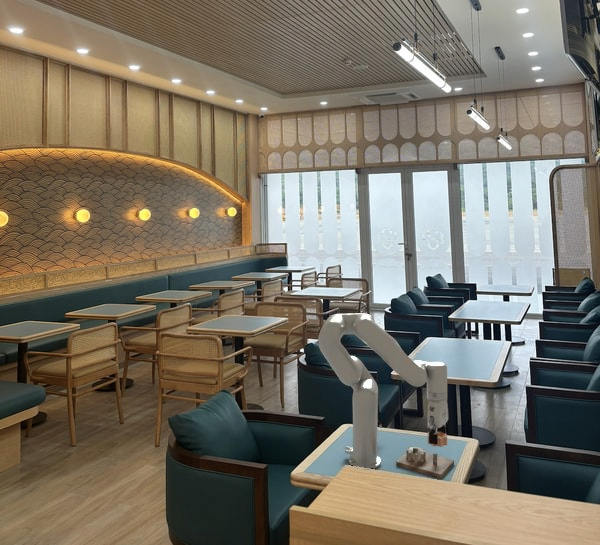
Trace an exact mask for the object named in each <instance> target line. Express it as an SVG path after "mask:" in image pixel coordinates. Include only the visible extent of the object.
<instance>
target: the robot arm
mask: <svg viewBox="0 0 600 545" xmlns="http://www.w3.org/2000/svg"><path fill="white" fill-rule="evenodd" d="M344 335H355V336H356V337H357V338H358V339H359V340H361V342H363V343H364V344H366V346H367V347H369V348H370V349H371V350H372V351H373V352H375V353H376V354H377V355H378V356H379V357H380V358H382V360H383V361H384V362H385V363H386V364H387V365H388V366H389V367H390V368H391V369H392V370H393V371H394V373H396V374H397V375H398V376H399V377H401V379H403V381H406V383H408V384H409V385H411V386H413V387H417V388H418V387H419V388H420V387H422V386H424V385H425V384H426V400H427V413H426V414H427V415H426V419H427V420H426V421H427V427H426V428H427V431H428V432H427V434H428V433H429V443H431V444H435V445H437V444H438V434H437V432H442V433H444V434H446V425H447V424H446V423H448V421H449V408H448V407H449V406H448V405H449V404H448V366H447V364H446V363H444V362H442V361H431V362H429V361H423V360H418V359H416V360H415V359H414V360H412V359H411V358H410V357H409V356H408V355H407V353H405V351H404V350H403V349H402V347H401V346H400V344H399V343H398V341H397V340H396V338H394V337H393V336H391V335H390V334H389V333H388V332H386V331H385V330H384V329H383V328H382V327H381V326H380V325H378V324H377V323H376V321H375V319H374V317H373V316H372V315H371V314H368V313H363V312H362V313H360V312H359V313H335V314H332V315H330V316H329V317H327V319H326V321H325V322H324V323H323V325H322V327H321V329H320V331H319V335H318V338H317V340H318V341H317V342H318V347H319V350H320V353H321V354H322V355H323V357H324V358H325V359H326V361H327V363H328V364H329V365H330V367H331V369H332V370H333V372H334V373H335V375H336V376H337V377H338V379H339V381H341V383H342V384H344V385H345V386H348V387H351V388H352V389H353V393H352V447H351V446H348V445H346V446H344V447H345V448H344V454H347V455H349V458H348V463H349V465H350V466H352V465H353V466H359V467H364V468H373V469H372V470H374V469H377V468H378V467H380V466H381V464H382V459H381V457H379V456H378V424H377V420H378V411H379V410H378V406H379V387H378V384H377V381H376V379H374V377H373V375H372V374H371V372H370V371H369V370H368V368H367V367H366V365H364V363H363V361H361V359H360V358H358V357H356V355H350V353H349V352H348V350H347V349H346V347H344V345H343V344H342V343H341V339H342V337H343V336H344ZM431 444H430V445H431ZM353 466H352V467H353Z"/></svg>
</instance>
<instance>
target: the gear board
mask: <svg viewBox="0 0 600 545" xmlns="http://www.w3.org/2000/svg"><path fill="white" fill-rule="evenodd" d="M453 464H454V465H455V460H454V459H451V458H447V457H444V456H438V453H437V452H433V453H428V452H427V451H426V450H425V449H424V448H423V447H418V446H414V447H411V446H409V447H408V448H407V449H406V452H405V453H404V454H403V455H402V456H401V457H399V458H398V459H397V460H396V461H395V465H396V466H397V467H401V468H405V469H407V470H411V471H414V472H417V473H422V474H425V475H427V476H431V475H432V477H435V478H438V479H442V478H443V477H444V475H445V474H446V473H447V472H448V471H449V470H450V469H451V468H452V467H453V466H454V465H453ZM452 465H453V466H452ZM451 466H452V467H451Z"/></svg>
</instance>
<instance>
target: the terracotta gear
mask: <svg viewBox="0 0 600 545" xmlns="http://www.w3.org/2000/svg"><path fill="white" fill-rule="evenodd" d="M437 434H438V444H437V445H435V444H431V443H429V433H428V432H427V444H428V445H431V446H432V447H440V448H442V447H444V446H447V445H448V434H447V433H445V434H444V433H442V432H437Z"/></svg>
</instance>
